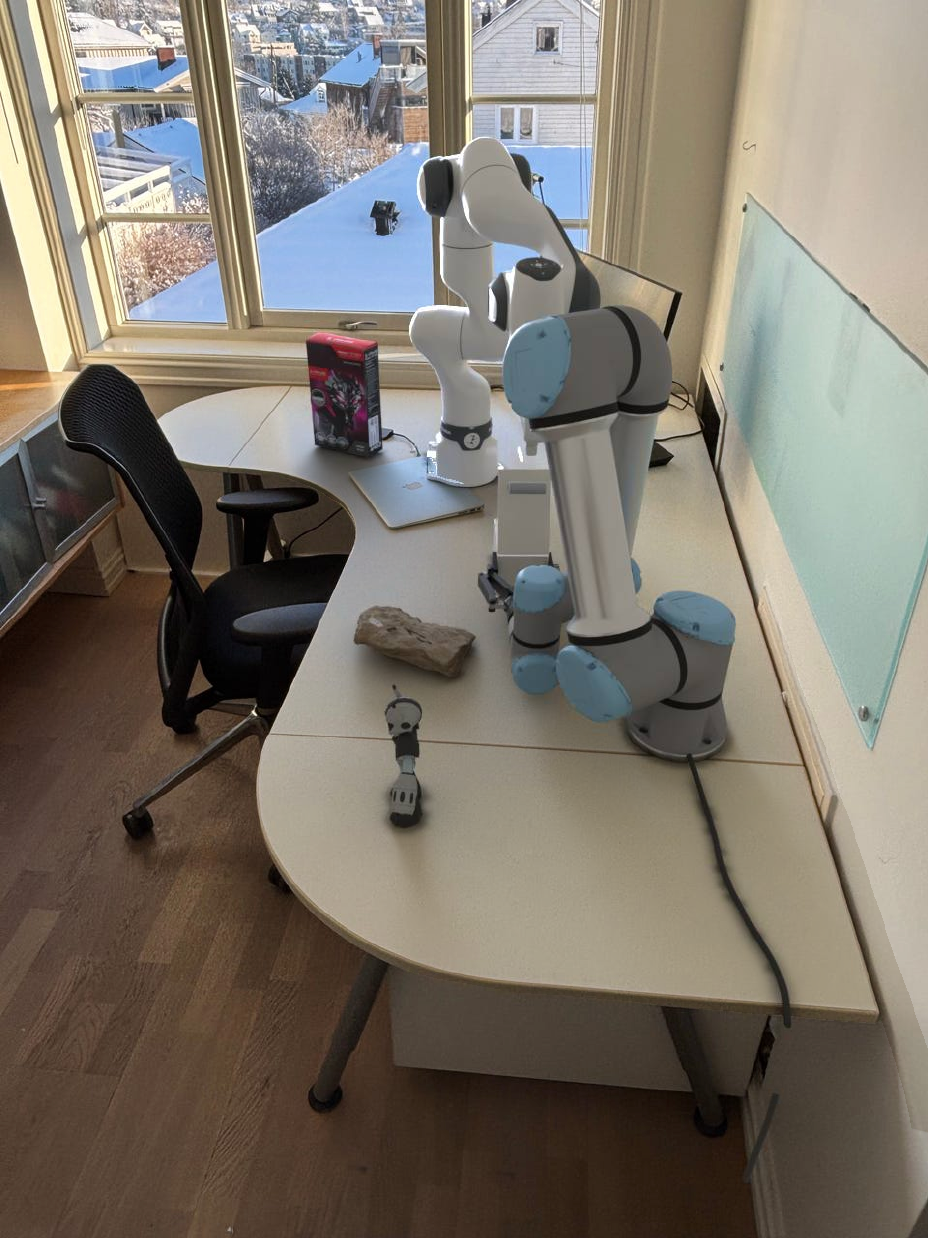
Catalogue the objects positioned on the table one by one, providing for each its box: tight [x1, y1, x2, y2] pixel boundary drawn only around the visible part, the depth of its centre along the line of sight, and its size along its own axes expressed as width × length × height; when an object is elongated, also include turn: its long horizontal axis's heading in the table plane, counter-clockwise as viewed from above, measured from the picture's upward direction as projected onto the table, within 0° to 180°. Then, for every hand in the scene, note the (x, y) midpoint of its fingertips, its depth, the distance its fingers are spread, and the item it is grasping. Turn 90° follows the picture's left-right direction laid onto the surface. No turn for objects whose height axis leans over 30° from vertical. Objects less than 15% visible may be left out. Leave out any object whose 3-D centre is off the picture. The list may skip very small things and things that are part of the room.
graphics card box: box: [305, 331, 384, 458], centre depth 224 cm, size 17×7×27 cm, turn 62°
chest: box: [492, 518, 549, 597], centre depth 179 cm, size 15×10×9 cm, turn 1°
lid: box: [497, 468, 552, 555], centre depth 165 cm, size 16×10×9 cm
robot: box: [383, 684, 423, 828], centre depth 123 cm, size 20×5×20 cm, turn 3°
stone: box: [353, 605, 477, 679], centre depth 158 cm, size 21×15×6 cm
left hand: (529, 446), depth 157 cm, fingers open, 5 cm apart
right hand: (521, 558), depth 174 cm, fingers closed on chest, 9 cm apart
